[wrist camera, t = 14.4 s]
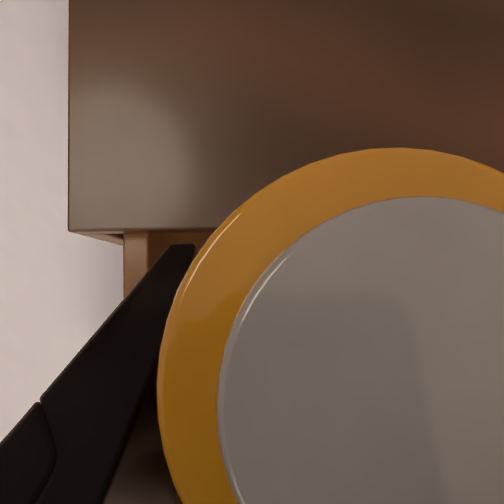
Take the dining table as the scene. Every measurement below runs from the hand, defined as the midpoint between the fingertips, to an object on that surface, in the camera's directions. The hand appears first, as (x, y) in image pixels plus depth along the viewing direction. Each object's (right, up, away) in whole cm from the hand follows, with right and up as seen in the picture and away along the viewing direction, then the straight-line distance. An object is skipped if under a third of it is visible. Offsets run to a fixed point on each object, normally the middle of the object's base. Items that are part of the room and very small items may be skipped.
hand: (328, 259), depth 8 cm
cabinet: (0, +8, +14) cm, 16 cm away
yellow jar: (0, -2, +3) cm, 3 cm away
